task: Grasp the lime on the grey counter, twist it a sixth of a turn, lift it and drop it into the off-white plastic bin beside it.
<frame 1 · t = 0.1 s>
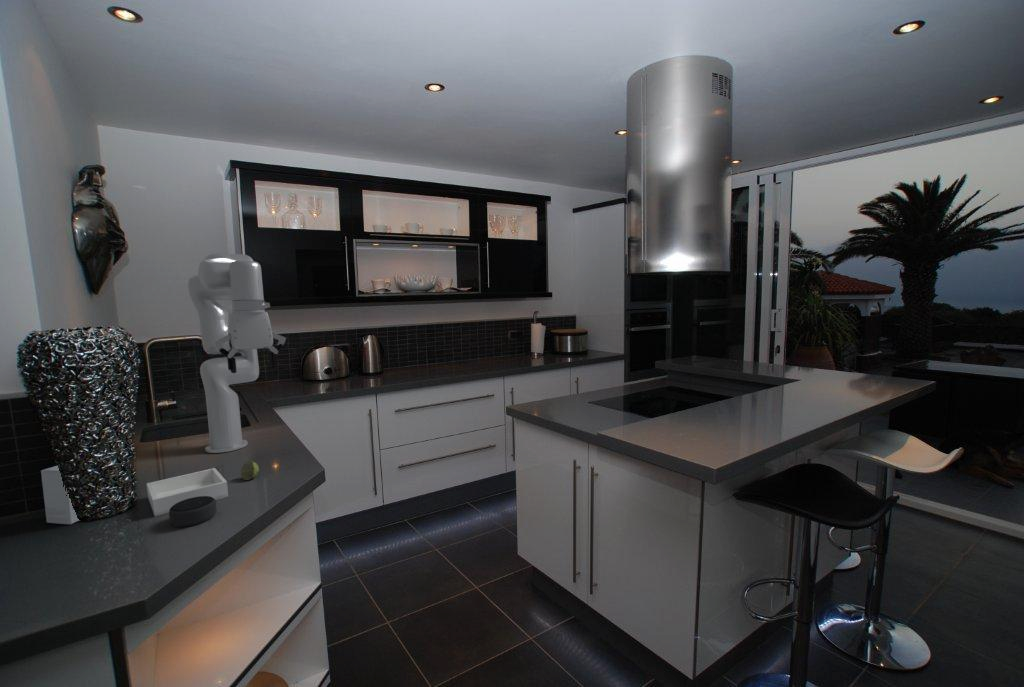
hand: (253, 370, 125), 31 cm above the worktop, tool pointing down, fingers open, 9 cm apart
bin: (188, 497, 118), on the worktop
smart speaker: (194, 520, 106), on the worktop
supplement box: (76, 517, 109), on the worktop
lime: (250, 479, 130), on the worktop
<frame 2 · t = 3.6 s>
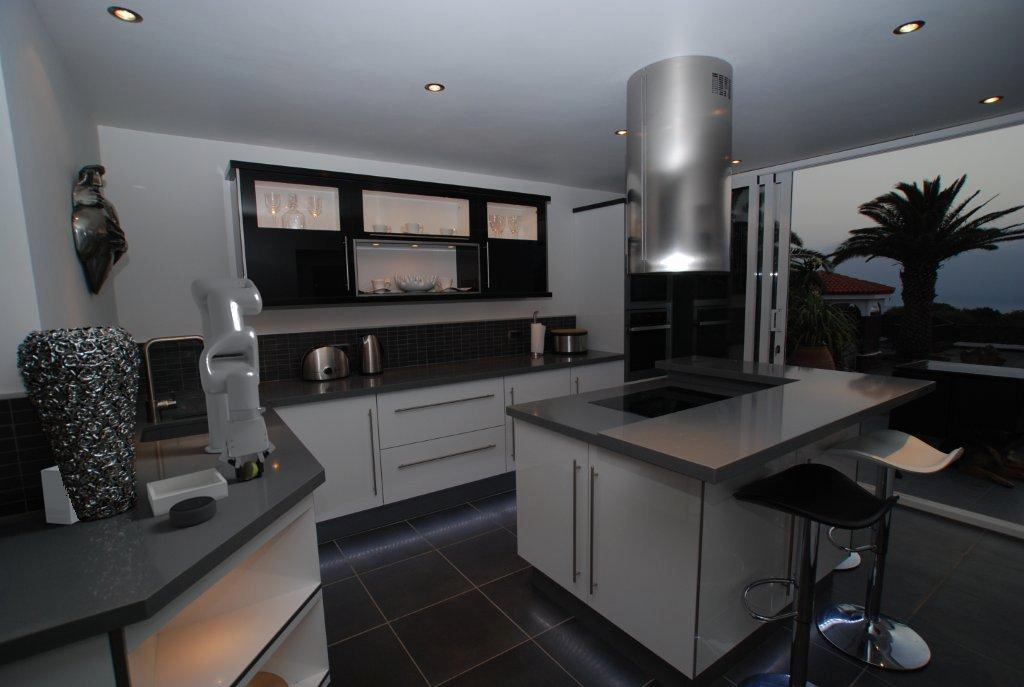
hand: (250, 477, 130), 0 cm above the worktop, tool pointing down, fingers closed on lime, 4 cm apart
lime: (249, 479, 130), on the worktop, touching gripper
everything else where it was.
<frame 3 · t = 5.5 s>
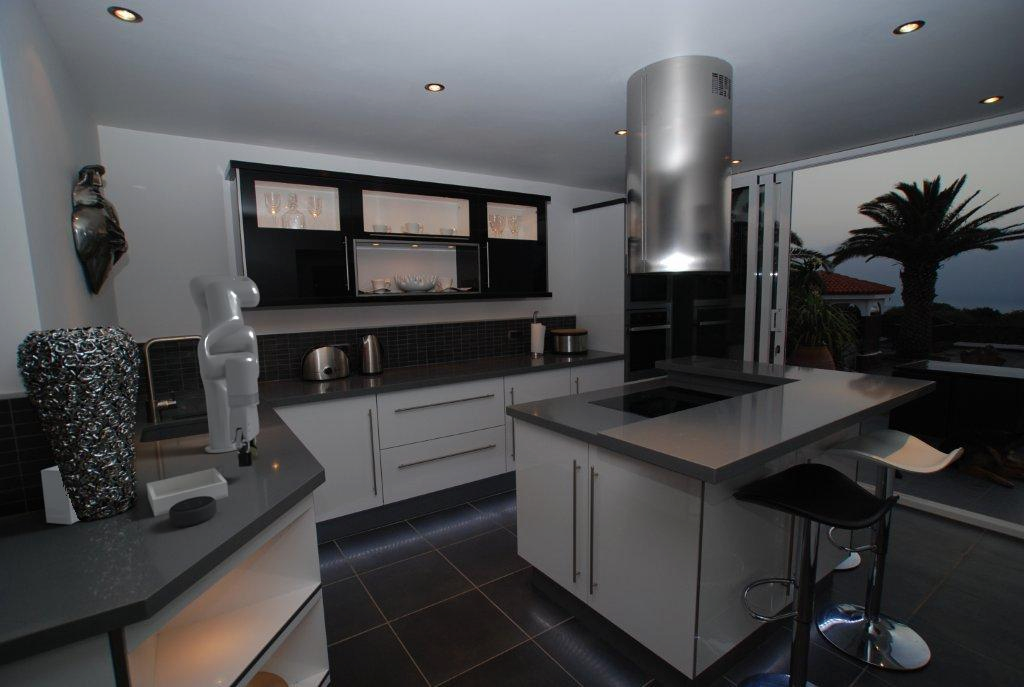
hand: (248, 462, 131), 4 cm above the worktop, tool pointing down, fingers closed on lime, 4 cm apart
lime: (248, 464, 130), point 4 cm above the worktop, touching gripper
everything else where it was.
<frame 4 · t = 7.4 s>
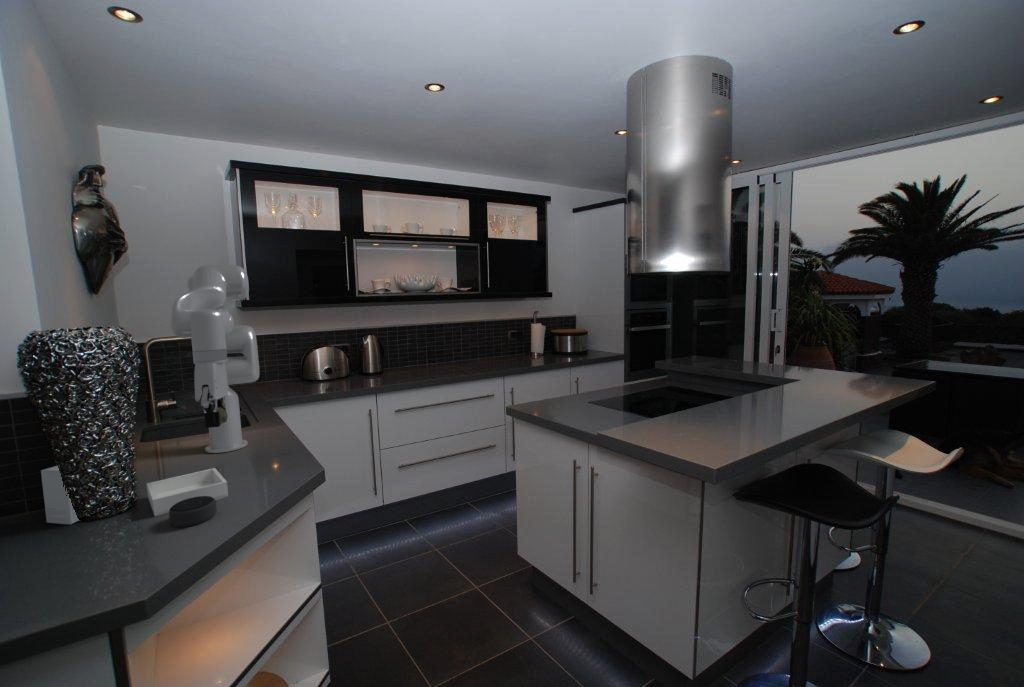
hand: (216, 424, 123), 17 cm above the worktop, tool pointing down, fingers closed on lime, 4 cm apart
lime: (216, 426, 123), point 17 cm above the worktop, touching gripper
everything else where it was.
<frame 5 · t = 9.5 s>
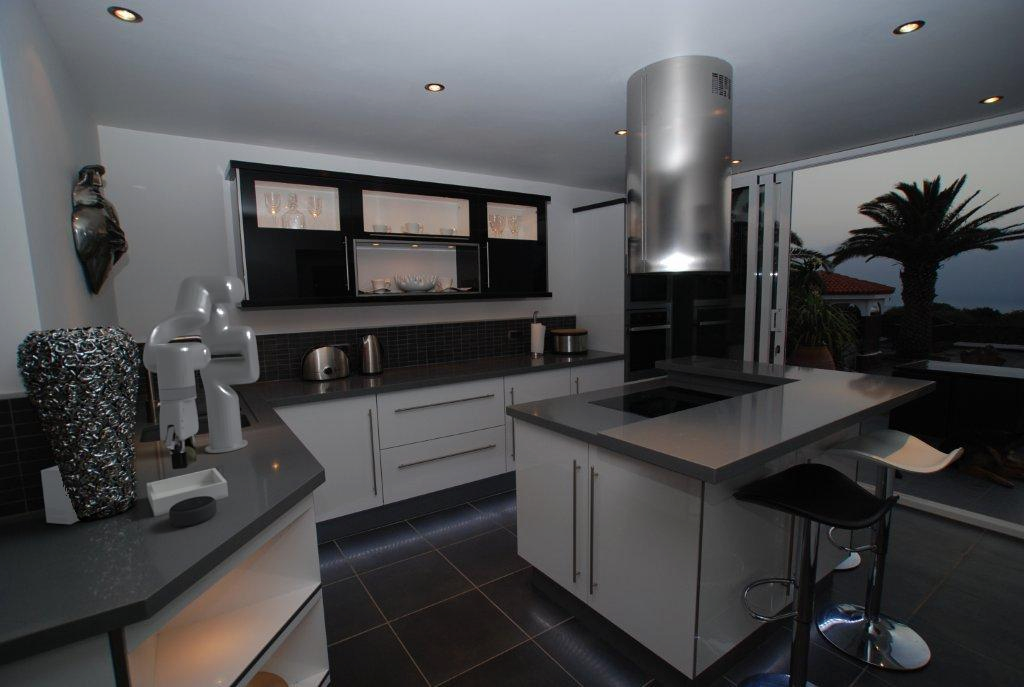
hand: (184, 464, 117), 9 cm above the worktop, tool pointing down, fingers closed on lime, 4 cm apart
lime: (184, 466, 117), point 8 cm above the worktop, touching gripper
everything else where it was.
when the fingers open (4 cm above the worktop, at t = 11.2 s): lime drops 2 cm, resting on bin.
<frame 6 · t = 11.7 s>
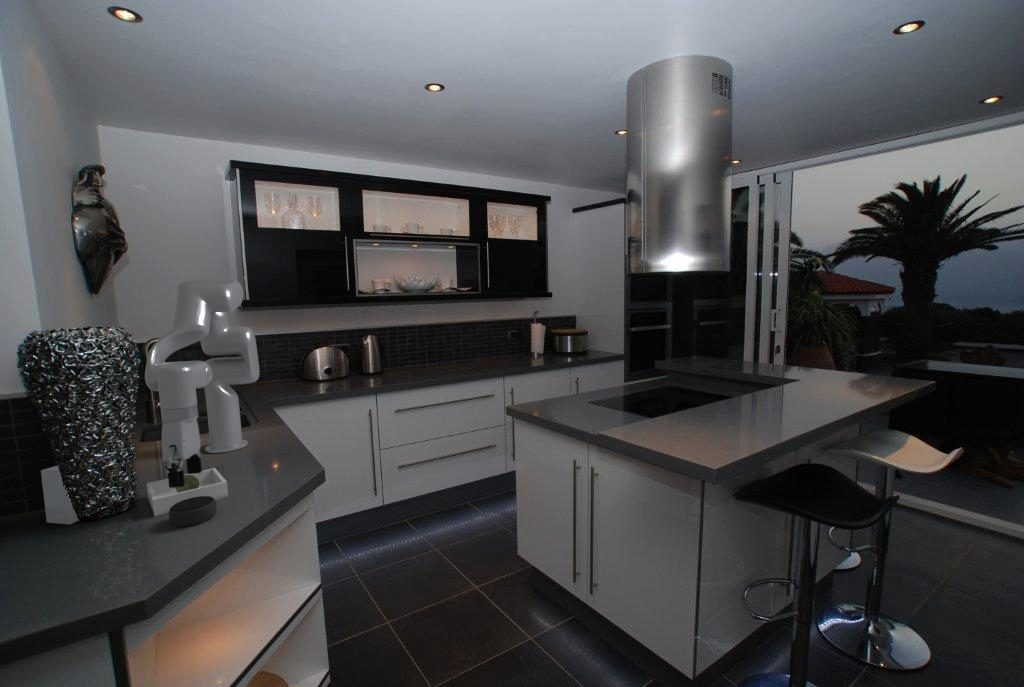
hand: (186, 479, 118), 5 cm above the worktop, tool pointing down, fingers open, 9 cm apart
lime: (188, 494, 118), point 1 cm above the worktop, touching bin
everything else where it was.
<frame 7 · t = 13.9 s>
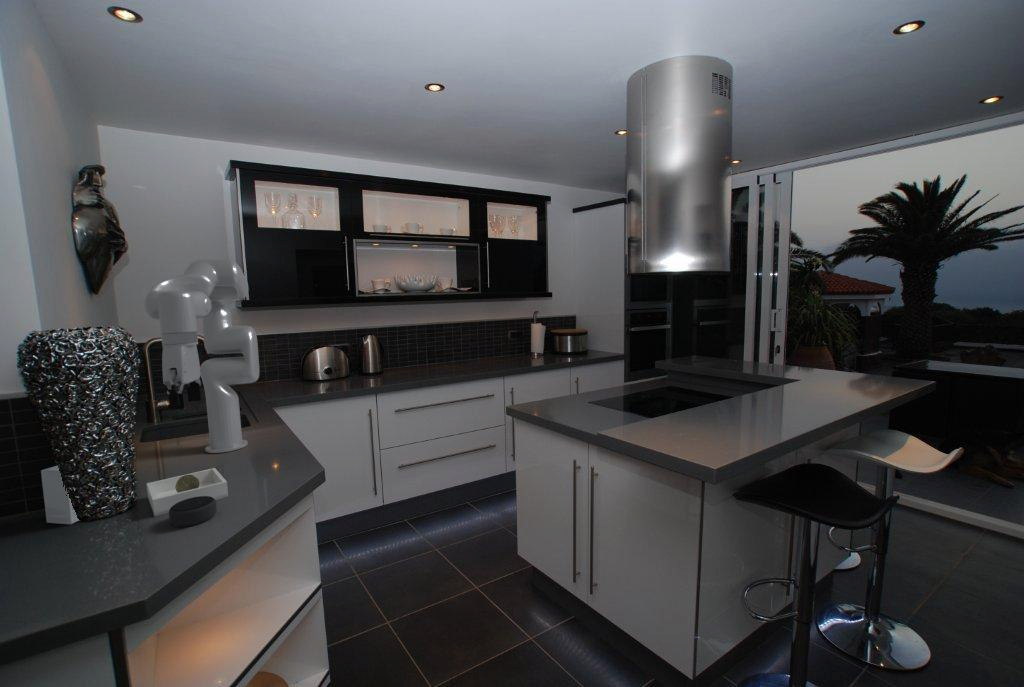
hand: (186, 404, 120), 23 cm above the worktop, tool pointing down, fingers open, 9 cm apart
nothing on the worktop moved.
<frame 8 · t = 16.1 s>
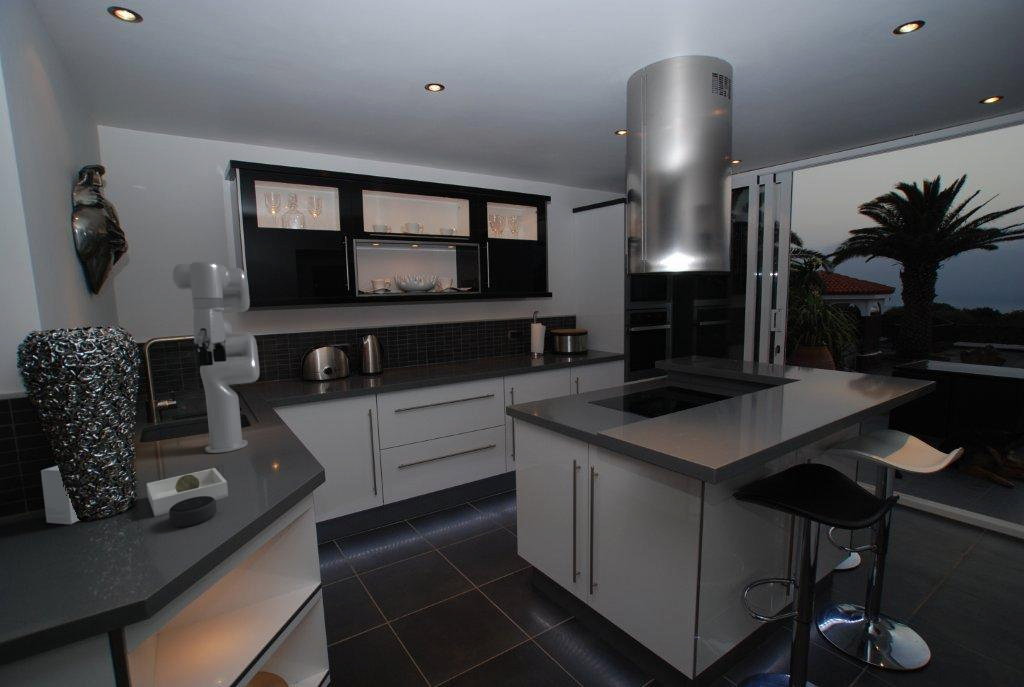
hand: (213, 363, 135), 32 cm above the worktop, tool pointing down, fingers open, 9 cm apart
nothing on the worktop moved.
at the end: lime inside the target area on the bin (0.3 cm from its centre), point 0.6 cm above the bin's base; the gripper is holding nothing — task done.
